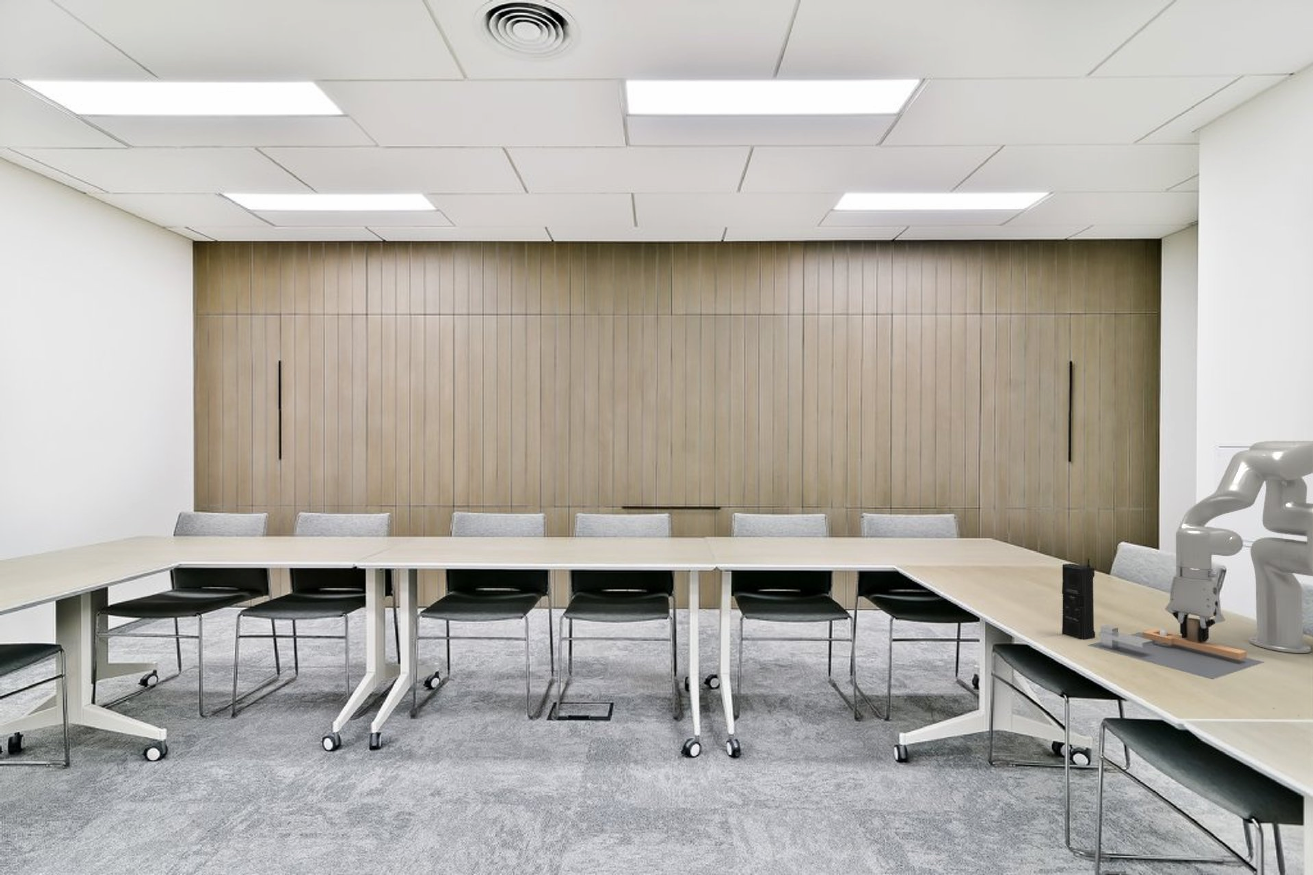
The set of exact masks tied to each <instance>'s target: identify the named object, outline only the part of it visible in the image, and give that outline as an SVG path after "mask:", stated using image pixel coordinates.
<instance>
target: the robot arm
mask: <svg viewBox="0 0 1313 875" xmlns="http://www.w3.org/2000/svg"><path fill="white" fill-rule="evenodd" d="M1311 474H1313V440H1267V441H1266V440H1265V441H1259V442H1255V443H1253V444H1251V446H1250V447H1249V449H1247V450H1241V451H1238V452H1236V453H1235V454H1233V455H1232V457H1231V459H1230V461H1229V463H1228V465H1227V467H1226V469H1225V471H1224V474H1223V476H1222V478H1221V480H1220V482H1219V484H1218V486H1217V489H1216V491H1215V492H1214V493H1212V494H1210V495H1208V496H1206V497H1205V498H1203V499H1201V500H1200V501H1199V502H1198V503H1195V505H1193V506H1191V507H1190V508H1189V509H1188V511H1187V512H1185V514H1184V516H1183V518H1182V520H1181V521H1180V524H1179V527H1178V529H1177V530H1176V533H1175V574H1176V575H1173V577H1172V581H1171V587H1170V591H1169V593H1170V594H1169V602H1168V604H1167V605H1166V606H1165V608H1164V609H1165V611H1166V612H1168V613H1169V614H1171V615H1172V616H1173V617H1174V618H1175V619H1176V620H1177V623H1179V625H1180V626H1179V627H1180V628H1179V632H1180V635H1182V638H1187V618H1190V617H1189V616H1190V615H1192V616H1198V619H1200V627H1199V628H1198V641H1199V642H1208V640H1209V638H1210V637H1209V636H1210V629H1209V628H1211V627H1212V626H1214V625H1215V624H1217V623H1218V624H1219V623H1222V622H1225V621H1226V618H1225V617H1224V615H1223V614H1222V613H1221V612H1222V611H1221V598H1220V593H1219V588H1218V585H1217V581H1216V580H1214V578H1216V579H1217V578H1218V577H1219V574H1218V572H1215V571H1213V568H1212V564H1213V563H1212V562H1213V561H1212V556H1221V557H1231V556H1234V555H1237V554H1238V553H1240V551H1241V550H1242V549H1243V546H1244V541H1243V539H1242V537H1241V535H1240V534H1238V533H1237V532H1236V531H1233V530H1231V529H1228V528H1227V529H1226V528H1218V527H1211V526H1206V525H1207V524H1208V523H1209V522H1210V521H1213V519H1215V518H1218V517H1219V516H1222V515H1226V514H1230V513H1233V512H1237V511H1241V510H1246V509H1248V508H1250V507H1252V506H1253V505H1254V504H1255V502H1256V499H1257V497H1258V495H1259V493H1260V492H1261V489H1262V487H1263V485H1264V482H1265V496H1264V504H1263V510H1262V526H1263V527H1264V528H1265V530H1267V531H1269V532H1271V533H1277V534H1283V535H1291V536H1299V537H1306V540H1297V539H1290V538H1283V537H1282V538H1281V537H1271V536H1270V537H1269V536H1268V537H1260V538H1258V539H1256V540H1255V541H1253V543H1252V544H1251V545H1250V550H1249V551H1250V558H1251V561H1252V564H1253V570H1254V575H1255V577H1254V578H1255V610H1256V617H1255V618H1256V619H1255V620H1256V635H1253V636H1249V643H1250V644H1252V645H1254V646H1257V647H1259V648H1264V649H1266V650H1273V651H1277V652H1284V653H1292V654H1293V653H1294V654H1307V653H1308V654H1309V653H1311V651H1312V650H1311V649H1312V648H1311V646H1309V644H1306V643H1304V641H1303V640H1304V638H1303V637H1304V636H1305V635H1304V634H1305V633H1304V632H1303V630H1304V629H1303V589H1302V586H1301V584H1300V582H1299V580H1298V579H1297V577H1296V576H1295V575H1294V574H1296V575H1302V576H1308V577H1313V503H1307V495H1308V486H1307V483H1306V481H1305V480H1304V479H1303V477H1305V476H1308V475H1311ZM1212 617H1214V618H1212Z"/></svg>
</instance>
